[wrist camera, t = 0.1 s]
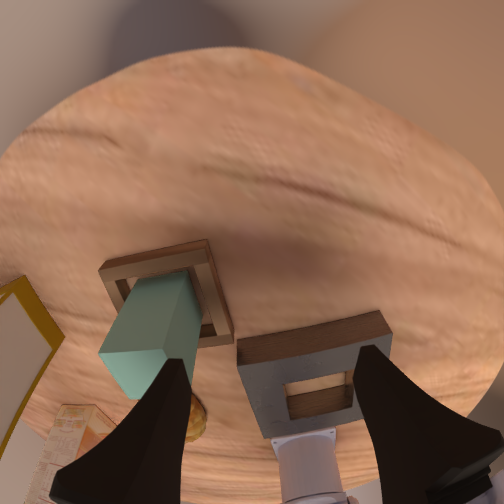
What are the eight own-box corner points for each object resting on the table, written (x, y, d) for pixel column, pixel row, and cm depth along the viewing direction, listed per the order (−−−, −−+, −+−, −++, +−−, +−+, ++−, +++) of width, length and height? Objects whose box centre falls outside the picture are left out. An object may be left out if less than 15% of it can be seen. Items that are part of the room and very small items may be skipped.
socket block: (370, 393, 28) (378, 414, 25) (262, 416, 28) (264, 438, 26) (379, 310, 23) (392, 333, 20) (237, 339, 23) (236, 366, 21)
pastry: (125, 368, 25) (114, 398, 22) (189, 367, 25) (184, 399, 22) (157, 420, 29) (151, 446, 26) (212, 420, 29) (210, 448, 26)
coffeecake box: (158, 459, 34) (143, 568, 17) (122, 457, 35) (102, 557, 17) (96, 403, 28) (53, 541, 10) (60, 403, 29) (16, 521, 11)
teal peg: (202, 314, 22) (189, 397, 15) (156, 321, 23) (129, 399, 15) (187, 270, 21) (162, 348, 13) (137, 279, 21) (97, 353, 14)
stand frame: (234, 330, 23) (233, 343, 22) (144, 342, 23) (139, 354, 22) (206, 239, 20) (204, 248, 18) (105, 261, 20) (97, 270, 19)
